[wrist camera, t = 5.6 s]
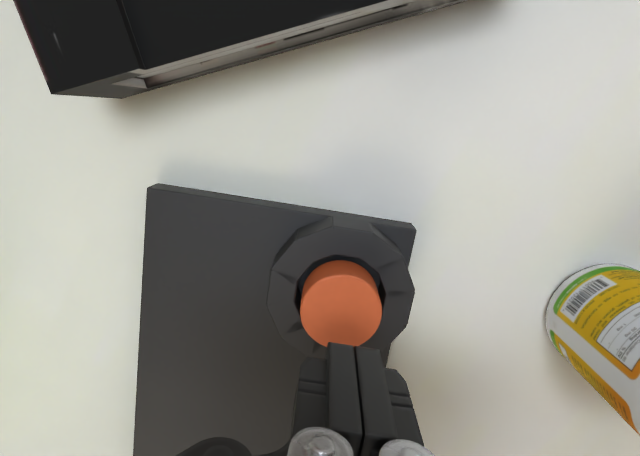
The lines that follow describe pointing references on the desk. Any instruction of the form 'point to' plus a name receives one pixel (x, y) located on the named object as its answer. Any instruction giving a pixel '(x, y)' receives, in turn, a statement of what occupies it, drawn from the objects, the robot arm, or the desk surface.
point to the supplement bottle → (602, 333)
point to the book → (183, 36)
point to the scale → (244, 311)
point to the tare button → (340, 304)
